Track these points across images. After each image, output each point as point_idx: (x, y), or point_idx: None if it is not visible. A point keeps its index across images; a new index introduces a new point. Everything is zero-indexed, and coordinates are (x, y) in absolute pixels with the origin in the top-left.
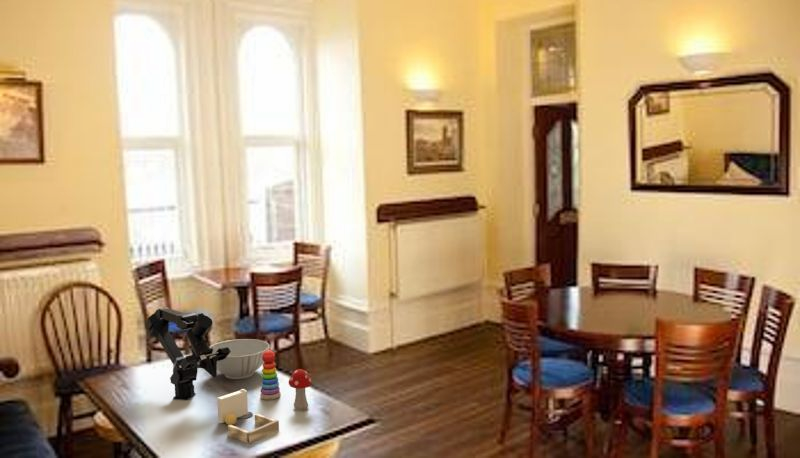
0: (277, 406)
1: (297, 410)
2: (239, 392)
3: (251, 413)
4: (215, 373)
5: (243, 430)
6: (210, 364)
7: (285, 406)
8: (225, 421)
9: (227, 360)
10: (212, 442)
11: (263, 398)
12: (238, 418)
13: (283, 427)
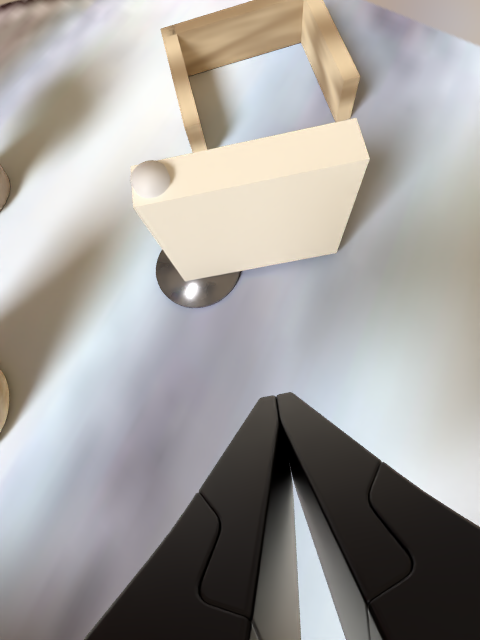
0: (30, 272)
1: (9, 185)
2: (186, 165)
3: (162, 257)
4: (272, 412)
5: (320, 12)
6: (394, 542)
7: (8, 251)
8: None
9: None
10: (428, 96)
11: (8, 393)
12: None
13: (147, 84)
